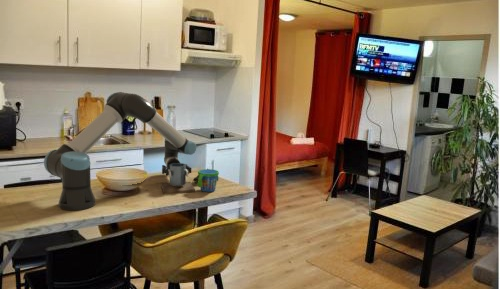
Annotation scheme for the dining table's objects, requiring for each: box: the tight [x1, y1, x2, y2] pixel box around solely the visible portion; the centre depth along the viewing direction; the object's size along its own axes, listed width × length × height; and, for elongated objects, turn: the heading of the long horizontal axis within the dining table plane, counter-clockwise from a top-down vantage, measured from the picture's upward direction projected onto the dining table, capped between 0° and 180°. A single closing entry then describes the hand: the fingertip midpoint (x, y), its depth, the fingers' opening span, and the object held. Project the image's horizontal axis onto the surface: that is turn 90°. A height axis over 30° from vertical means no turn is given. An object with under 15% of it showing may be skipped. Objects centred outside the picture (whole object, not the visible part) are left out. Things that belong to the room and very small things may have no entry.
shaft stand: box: [160, 181, 196, 195], centre depth 216 cm, size 16×16×6 cm
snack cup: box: [197, 168, 220, 193], centre depth 214 cm, size 16×10×10 cm
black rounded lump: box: [192, 174, 199, 183], centre depth 230 cm, size 11×9×10 cm
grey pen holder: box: [169, 162, 187, 186], centre depth 215 cm, size 8×8×10 cm
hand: (178, 174), depth 210 cm, fingers closed on grey pen holder, 8 cm apart
